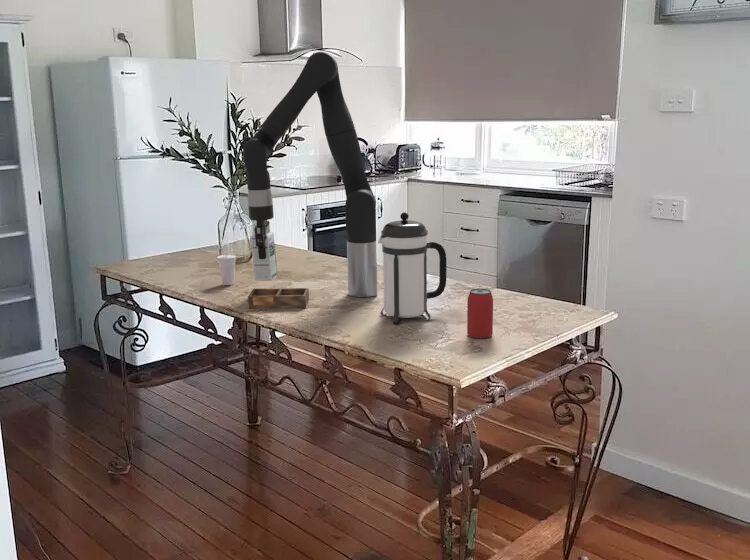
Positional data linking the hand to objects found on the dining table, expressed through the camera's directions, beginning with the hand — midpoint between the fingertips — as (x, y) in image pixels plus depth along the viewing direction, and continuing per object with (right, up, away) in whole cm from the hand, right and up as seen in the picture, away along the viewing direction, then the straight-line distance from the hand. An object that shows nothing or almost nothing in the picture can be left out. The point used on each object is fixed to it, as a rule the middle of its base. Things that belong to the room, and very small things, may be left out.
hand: (264, 256), depth 239 cm
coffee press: (+45, -18, -23) cm, 53 cm away
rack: (+6, -15, -8) cm, 18 cm away
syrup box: (0, -7, +2) cm, 7 cm away
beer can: (+62, -22, -41) cm, 78 cm away
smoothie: (-15, -9, +18) cm, 25 cm away
